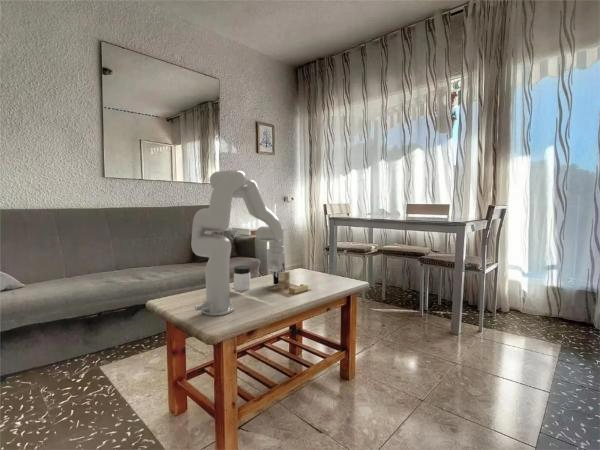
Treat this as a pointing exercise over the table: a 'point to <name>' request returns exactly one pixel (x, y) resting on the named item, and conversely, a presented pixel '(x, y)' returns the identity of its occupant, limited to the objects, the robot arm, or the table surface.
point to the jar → (241, 278)
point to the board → (285, 291)
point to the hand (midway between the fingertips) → (276, 283)
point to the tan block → (284, 279)
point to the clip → (298, 289)
